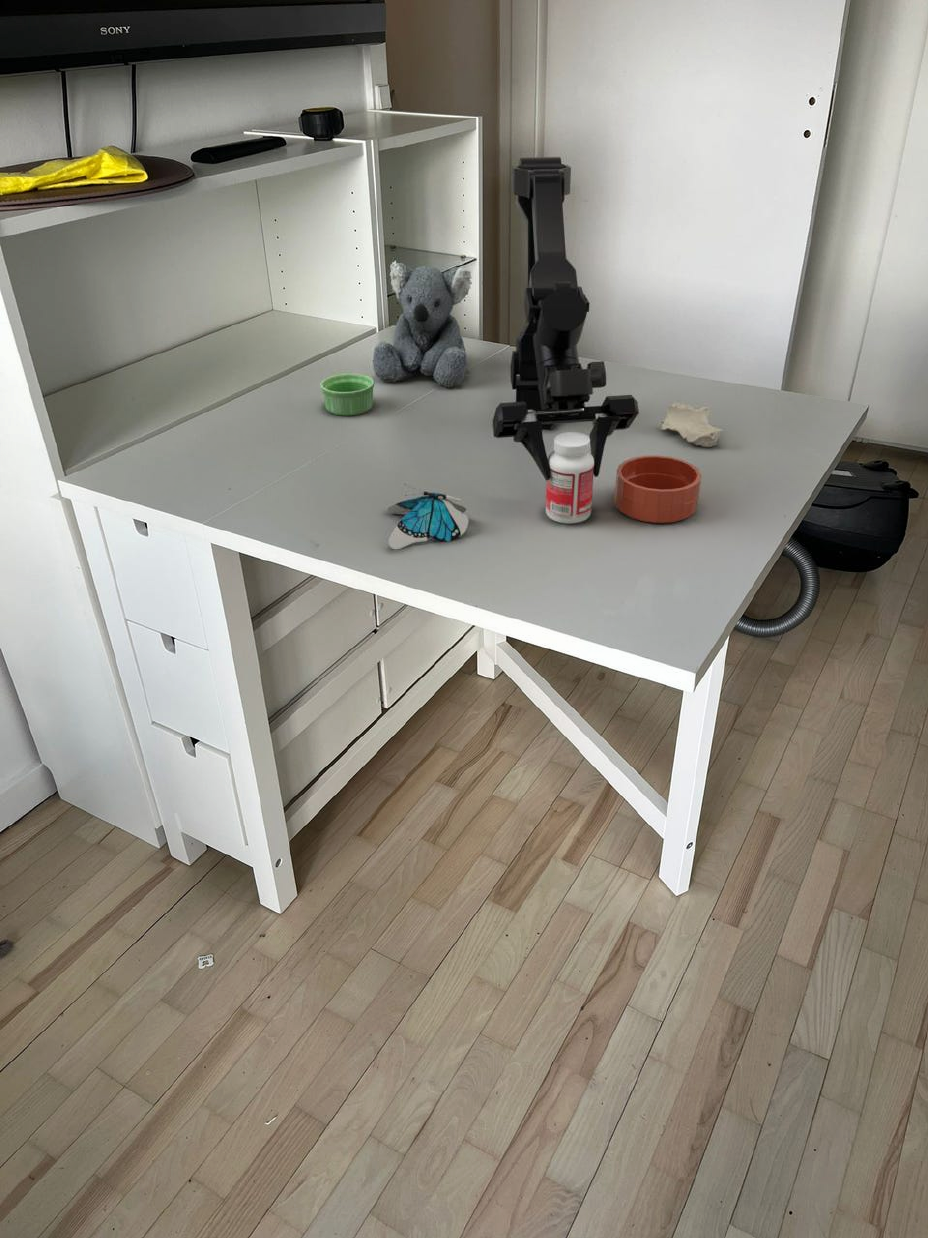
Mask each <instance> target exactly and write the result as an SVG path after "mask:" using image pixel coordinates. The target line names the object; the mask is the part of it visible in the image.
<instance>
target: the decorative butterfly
mask: <svg viewBox="0 0 928 1238" xmlns="http://www.w3.org/2000/svg"><path fill="white" fill-rule="evenodd" d="M403 485H404V486H407V487H408V488H410V486H409V485H407V484H406V483H403ZM412 489H414V490H415V487H414V488H413V487H412ZM419 491H421V492H422V493H419V495H423V496H419V497H418V496H417V497H415V498H411V499H405V500H403V501H399V502H397V503H395V504H392V505H390V506H389V507H388V508H387V511H388V512H389V513H391V514H405V515H404V516H403V517H402V518H401V519H400V520H399V522H398V523H397V525H396V526H395V527H394V529H393V530H392V532H391V534H390V536H389V539H388V546H389V547H390V549H392V550H400V549H403V548H405V547H407V546H409V545H411V544H413V543H421V542H428V541H429V540H430V539H431V538H432V539H433V540H434V541H438V542H440V543H441V542H452V541H455V540H457V539H459V538H460V537H462V535H463V534H464V533H465V532H466V530H467V528H468V526H469V517H468V516H467V514H465V512H466V511H467V508H466V507H465V506H463V505H460V504H458V503H454V502H453V501H458V502H459V501H461V502H462V501H463V499H461V498H458V497H455V496H452V495H447V494H443V493H440V492H439V493H438V492H428V491H425V490H424V491H423V490H420V489H419ZM414 495H415V493H413V494H412V496H414ZM404 496H405V497H406V496H408V494H405V495H404Z"/></svg>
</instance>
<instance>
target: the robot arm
mask: <svg viewBox="0 0 928 1238" xmlns="http://www.w3.org/2000/svg"><path fill="white" fill-rule="evenodd" d="M510 169H511V172H510V187H511V193H512V195H513V196H515V206H516V207H517V209H518V212H519V213H520V215H521V216H522V218H523V220H524V222H525V288H524V293H523V294H524V295H523V296H524V297H523V307H524V315H525V324H524V325H523V327H522V329H521V331H520V333H519V335H518V337H517V338H516V341H515V350H513V351H512V352H511V353H512V354H511V359H510V360H511V361H510V365H509V366H510V374H509V375H510V384H511V389H512V390H514V391H515V401H512V402H511V401H509V402H500V403H499V404H498V405H497V406H496V407H495V409H494V410H495V411H494V414H493V418H492V431H493V437H494V438H497V439H503V438H504V439H505V438H513V441H514V443H521V445H522V446H523V447H524V448H525V450H526V451H527V452H528V453H529V454H530V456H531V457H532V459H533V461H534V462H535V464H536V466H537V468H538V469H539V471H540V472H541V474H542V477H543V479H544V480H545V481H547V480H549V479H550V470H549V463H548V455H547V450H546V446H545V442H544V437H543V436H544V435H543V429H547V430H551V429H552V428H553V427H554V425H556V424H557V425H558V424H570V423H571V424H573V423H586V422H587V423H588V422H591V423H592V428H591V431H590V432H589V434H588V435H589V436H588V437H589V438H590V454H591V455H592V456H593V458H594V475H593V477H595V478H598V477H599V475H600V471H601V466H602V461H603V457H604V452H605V451H604V450H605V445H606V442H607V440H608V439H607V438H608V437H610V436H611V435H612V434H613V433H614V432H615V431H620V430H622V431H623V430H627V429H629V428H630V427H631V426H632V424H633V422H634V421H635V419H636V418H637V416H638V415H639V414H640V412H639V411H640V410H639V404H638V400H637V399H636V398H635V397H634V396H633V395H632V394H622V395H620V394H619V395H607V396H606V397H605V399H604V400H603V402H602V404H601V405H592V406H586V404H585V403H589V401H590V399H591V397H590V396H591V395H593V394H594V389H599V388H605V387H606V386H607V371H606V365H605V364H606V363H605V361H591V362H589V363H587V366H586V368H583V366H582V363H580V360H579V352H578V343H579V341H580V339H581V336H582V333H583V329H584V325H585V322H586V318H587V315H588V313H589V312H590V301H589V300H588V298H587V296H586V294H585V293H584V291H583V288H582V286H579V285H578V275H577V269H576V268H575V266H573V265H572V263H571V262H570V261H569V260H568V258H567V251H566V249H567V248H566V234H565V223H564V222H565V221H564V219H565V218H564V206H563V204H564V202H565V197H566V196H569V195H570V194H571V181H572V180H571V179H572V178H571V177H572V167H571V166H570V165H569V164H564V163H562V158H561V156H542V157H541V156H539V157H538V156H537V157H535V156H533V157H532V156H531V157H519V161H518V165H511V168H510Z"/></svg>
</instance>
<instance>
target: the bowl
mask: <svg viewBox="0 0 928 1238" xmlns="http://www.w3.org/2000/svg"><path fill="white" fill-rule="evenodd" d="M701 484H702V473H701V470H700V469H699V468H697V467H696V466H695V464H693V463H691V462H688V461H686V460H684V459H682V458H681V459H680V458H677V457H673V456H665V455H659V454H658V455H656V454H655V455H654V454H653V455H640V456H635V457H631V458H629V459H626V460H624V461H622V462H621V463H620V464H618V466H617V469H616V473H615V485H614V486H615V487H614V495H613V497H614V498H613V502H614V505H615V507H616V509H618V511H620V512H621V513H622V514H624V515H626V516H627V517H629V518H631V519H634V520H637V521H640V522H644V523H650V524H670V523H675V522H679V521H683V520H685V519H688V518H690V517H691V516H692V515H694V513H696V511H697V508H698V505H699V497H700V491H701Z"/></svg>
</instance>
